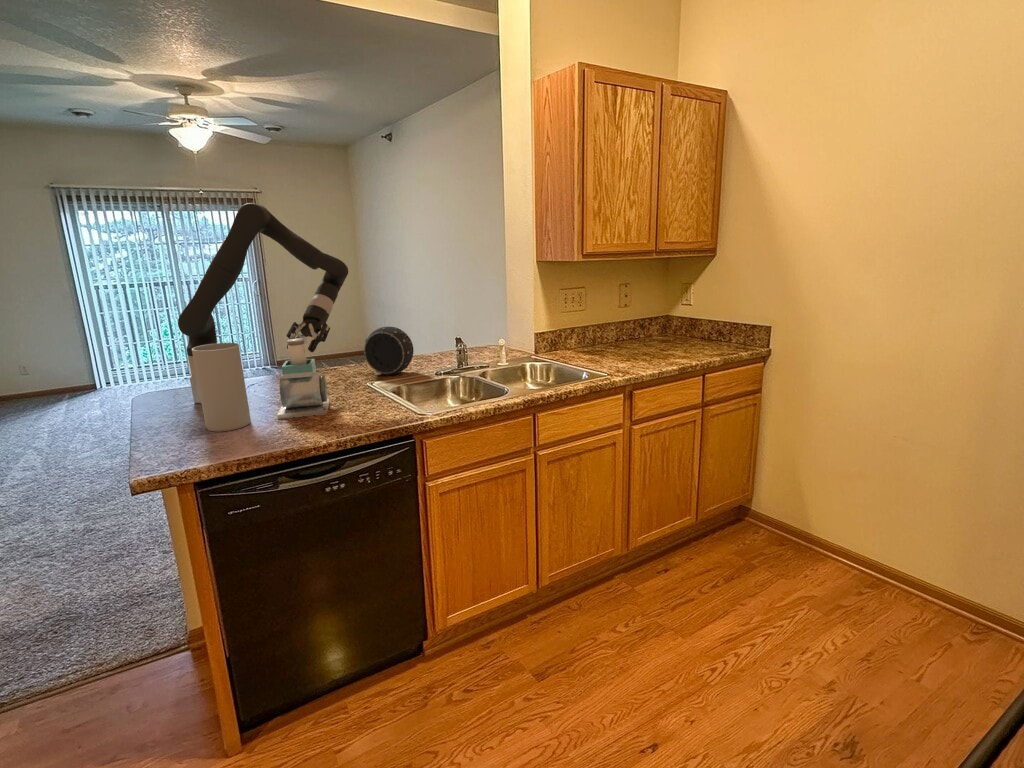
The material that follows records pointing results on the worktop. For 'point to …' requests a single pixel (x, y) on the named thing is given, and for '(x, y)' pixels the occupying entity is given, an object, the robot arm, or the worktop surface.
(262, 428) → the worktop surface
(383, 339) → the black wheel
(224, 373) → the cylinder vase
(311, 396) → the motor
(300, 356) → the jar with metallic lid
